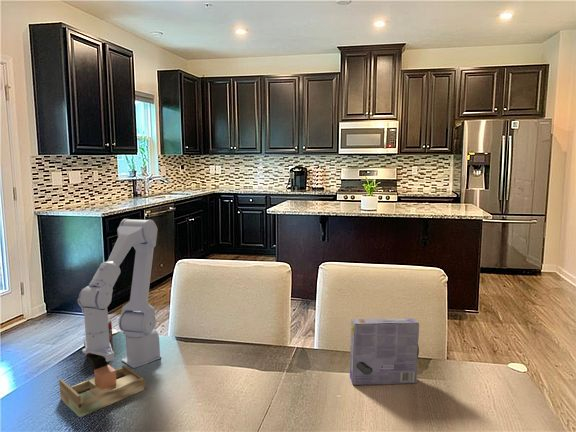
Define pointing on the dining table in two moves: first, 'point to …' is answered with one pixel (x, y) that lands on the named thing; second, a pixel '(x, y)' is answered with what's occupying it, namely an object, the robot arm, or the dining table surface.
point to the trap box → (100, 392)
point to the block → (105, 377)
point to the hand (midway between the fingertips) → (100, 377)
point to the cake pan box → (384, 351)
